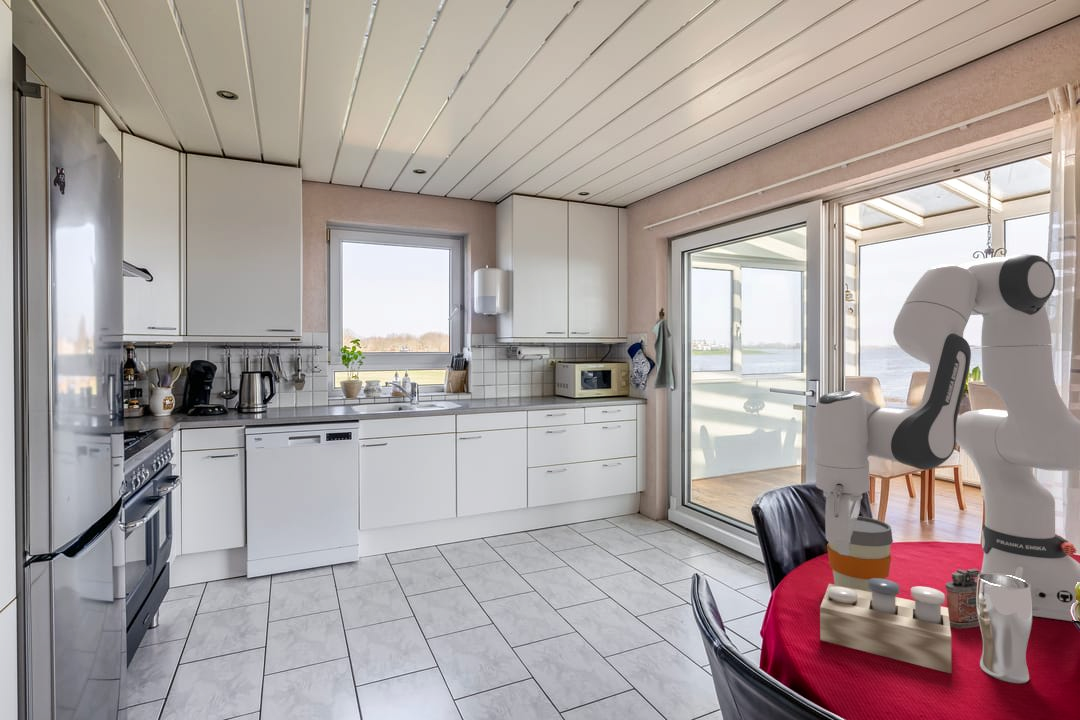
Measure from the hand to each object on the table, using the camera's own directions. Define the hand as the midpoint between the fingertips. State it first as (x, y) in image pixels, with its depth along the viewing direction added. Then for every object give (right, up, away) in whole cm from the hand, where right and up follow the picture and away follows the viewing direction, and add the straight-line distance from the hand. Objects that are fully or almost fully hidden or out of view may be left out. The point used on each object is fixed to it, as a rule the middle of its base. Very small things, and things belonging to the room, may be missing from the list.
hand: (844, 552), depth 102 cm
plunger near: (+10, -11, -7) cm, 17 cm away
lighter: (+24, -15, +2) cm, 29 cm away
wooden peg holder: (+5, -15, -4) cm, 16 cm away
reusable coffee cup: (+12, -15, +16) cm, 25 cm away
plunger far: (0, -14, 0) cm, 14 cm away
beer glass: (+18, -15, -14) cm, 27 cm away
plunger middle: (+5, -11, -4) cm, 13 cm away
